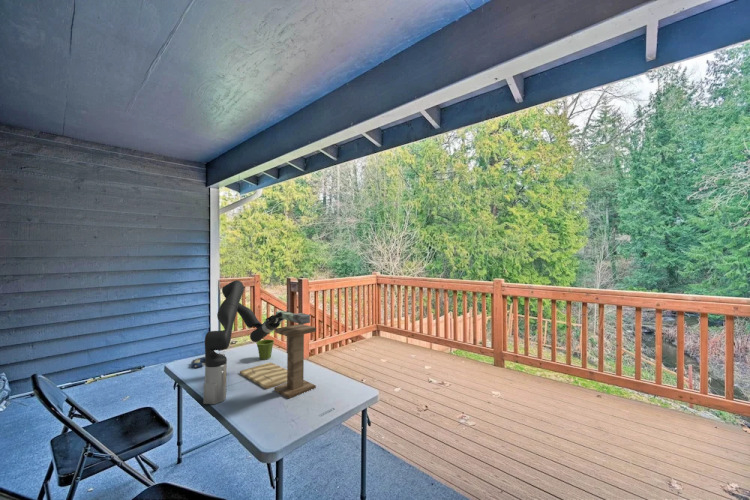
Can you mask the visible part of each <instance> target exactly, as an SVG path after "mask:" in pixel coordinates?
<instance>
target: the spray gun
mask: <svg viewBox="0 0 750 500" xmlns="http://www.w3.org/2000/svg"><path fill="white" fill-rule="evenodd" d="M218 354H220V355H224V356H225V357H226V354H225V353H220V352H219V353H218ZM190 363H191V367H192V369H194V368H195V369H198V368H202V367H203V366H205V356H203V357H198V358H195V359H192V361H191V362H190Z"/></svg>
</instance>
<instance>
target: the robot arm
mask: <svg viewBox="0 0 750 500" xmlns="http://www.w3.org/2000/svg"><path fill="white" fill-rule="evenodd" d="M221 292H222V295H223V297H224V300H223V301H222V302H221V304H220V305H219V308H218V310H217V314H216V315H217V316H216V317H217V320H218V322H219V324H221V325H222V327H223V329H224V330H211V331H207V332H206V334H205V337H204V357H205V365H204V367H205V371H204V383H203V402H202V403H203V405H204V404H205V405H217V404H218V403H222V402H223V401H225V400H227V367H228V366H227V363H228V362H227V361H228V360H227V356H226V355H225V356H224V355H220V354H221V353H220V354H219V353H218V352H217V351H224V350H227V349H228V348H229V346H230V344H231V339H232V335H233V334H232V332H233V328H234V324H235V319H236V317H237V313H238V315H239V316H240V318H241V319H242V321H243V323H244V324H245V326H246V328H247V329H251V328H255V329H254V330H252V332H250V334H249V338H250V340H251V342H253V343H256V342H258V341H261V340H264V338H265V337H267V336H268V335H269V334H271V332H274V331H275V329H276V328H280V326H281V323H282V321H286V320H285V319H281V318H280V317H281V316H282V312H279V313H278V314H276V313H275V314H272V315H271V316H269V317H267V318H265V320H264V322H263V323H261V321H259V319H258V318H257V317H256V314H255V313H254V311H252V309H251V308H249V307H247V306H245V305H244V304H242V303H240V302H241V299H242V297H243V294H244V292H245V287H244V284H243V282H242V281H240V280H237V279H235V280H232V281H231V282H229V283H227V284H226V285H223V287H221ZM285 312H290V310H286V311H285Z"/></svg>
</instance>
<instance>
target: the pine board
mask: <svg viewBox="0 0 750 500" xmlns="http://www.w3.org/2000/svg"><path fill="white" fill-rule="evenodd" d="M239 374H240V375H242V376H244V377H245V378H246V379H249V380H250V381H251V382H254V383H255V384H257V385H259V386H260V387H262V388H264V389H265V390H269V389H271V388H274V387H277V386H280V385H283V384H286V383H287V368H284V367H283V366H280V365H277V364H276V363H273V362H271V361H270V362H267V363H264V364H260V365H257V366H253V367H248V368H246V369H243V370H239Z"/></svg>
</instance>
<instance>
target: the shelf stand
mask: <svg viewBox="0 0 750 500" xmlns="http://www.w3.org/2000/svg"><path fill="white" fill-rule="evenodd" d="M274 333H276V334H278V335H282V336H283V337H284V336H285V337H287V353H286V354H287V357H286V360H287V363H286V370H287V383H284V384H281V385H278V386H275V387H273V388H274V389H273V390H274V391H275V392H276V393H278V394H280V395H282V396H284V397H286V398H287V399H289V400H290V399H292V398H295V397H297V395H298V396H300V395H302V393H303V394H304V392H305V393H307V391H308V392H309V390H310V391H312V390H311V389H313V390H315V389H316V387H317V385H315V384H313V383H312V382H309V381H308V380H305V379H304V370H305V369H304V367H305V364H304V361H305V359H304V356H305V355H304V353H305V351H304V350H305V346H304V345H305V344H304V343H305V335H306V334H311V333H317V327H315V326H310V325H307V324H299V323H297V324H293V325H289V326H288V325H287V326H283V327H277V328H276V329H275V330H274ZM314 388H315V389H314Z"/></svg>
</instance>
